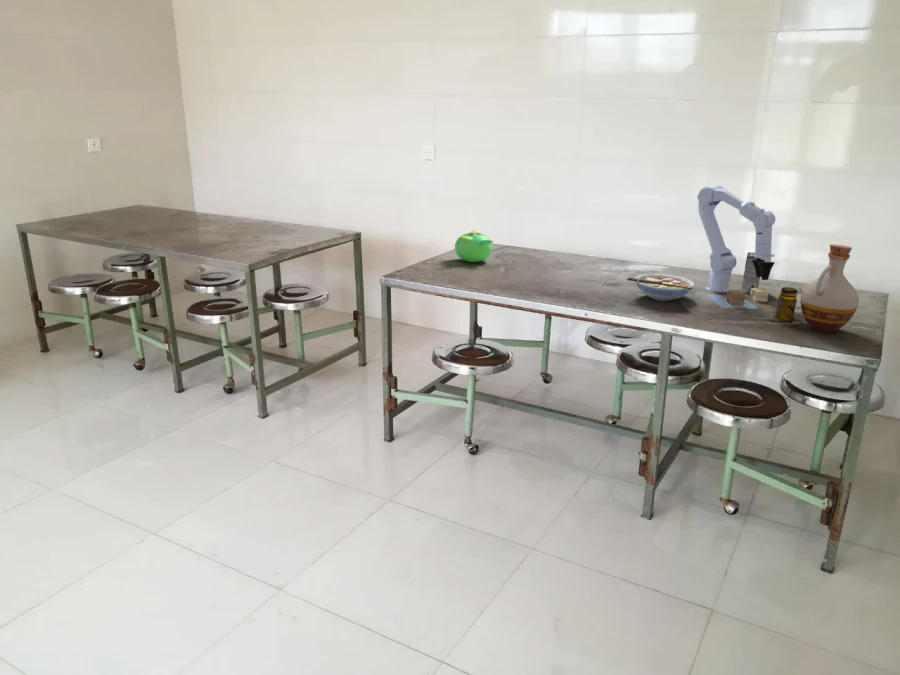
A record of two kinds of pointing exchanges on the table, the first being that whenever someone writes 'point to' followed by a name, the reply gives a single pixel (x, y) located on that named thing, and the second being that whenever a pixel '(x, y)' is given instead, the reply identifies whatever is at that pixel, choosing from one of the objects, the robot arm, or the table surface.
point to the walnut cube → (735, 297)
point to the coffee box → (750, 275)
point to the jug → (830, 295)
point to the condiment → (786, 305)
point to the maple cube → (759, 294)
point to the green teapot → (473, 247)
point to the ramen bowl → (663, 286)
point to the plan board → (723, 304)
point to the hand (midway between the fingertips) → (762, 278)
